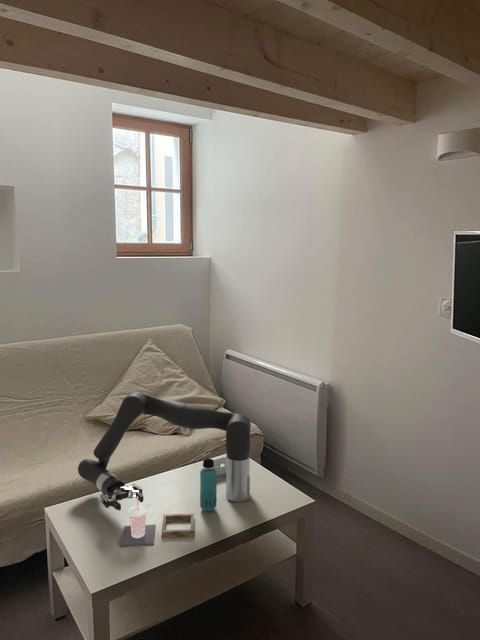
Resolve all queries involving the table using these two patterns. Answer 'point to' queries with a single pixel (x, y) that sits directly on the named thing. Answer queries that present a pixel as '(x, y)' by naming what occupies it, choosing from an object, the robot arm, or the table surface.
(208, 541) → the table surface
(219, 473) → the cassette
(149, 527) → the rubber mat
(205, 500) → the beverage bottle
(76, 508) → the table surface
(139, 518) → the beverage cup
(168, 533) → the walnut holder
